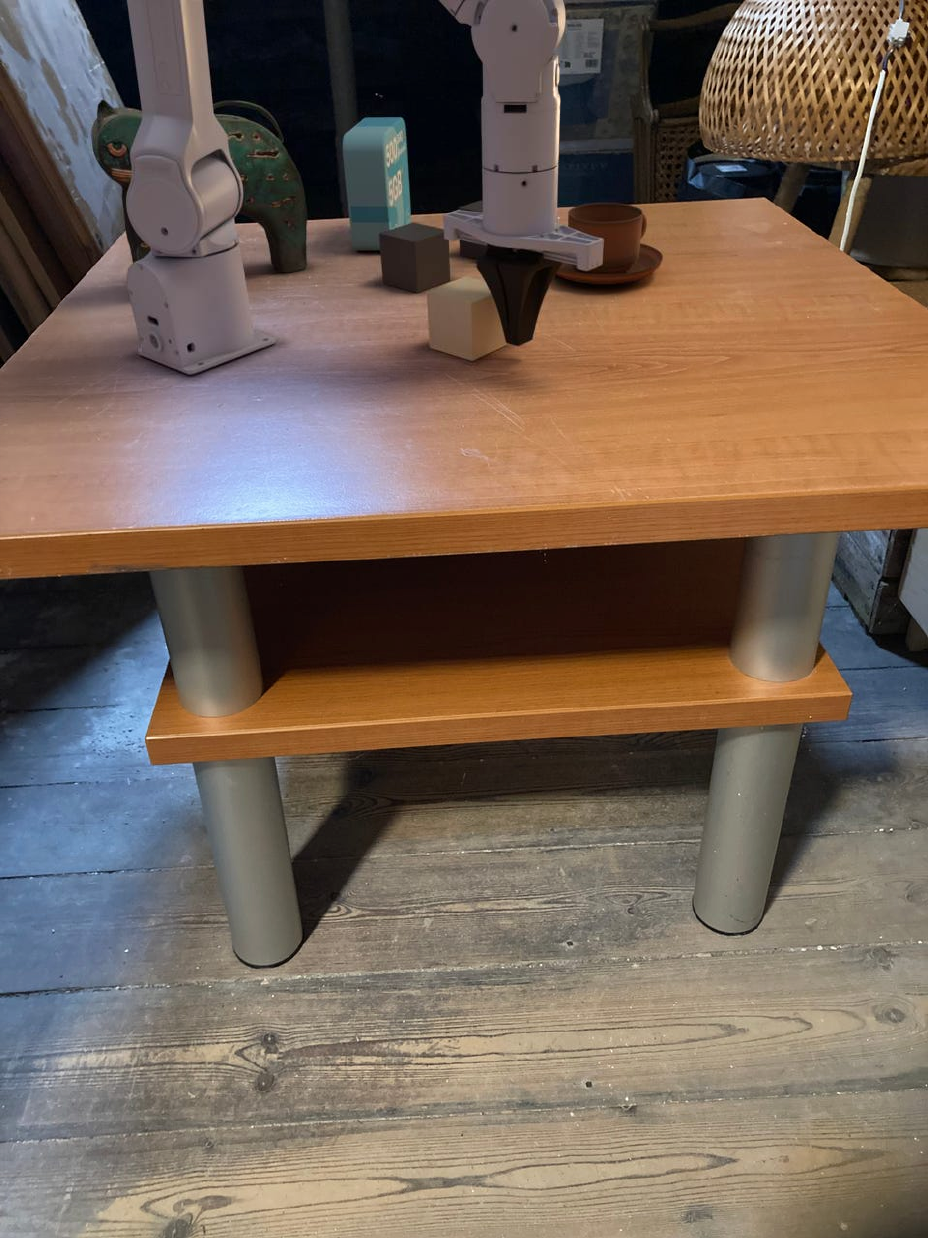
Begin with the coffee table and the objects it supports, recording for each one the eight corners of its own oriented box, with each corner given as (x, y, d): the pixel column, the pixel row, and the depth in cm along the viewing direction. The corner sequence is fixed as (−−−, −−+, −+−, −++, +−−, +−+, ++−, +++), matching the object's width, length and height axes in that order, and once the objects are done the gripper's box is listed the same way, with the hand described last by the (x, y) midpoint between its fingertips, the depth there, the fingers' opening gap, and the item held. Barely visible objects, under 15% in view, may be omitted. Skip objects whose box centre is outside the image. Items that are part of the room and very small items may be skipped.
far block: (494, 263, 103) (494, 214, 100) (459, 255, 106) (458, 207, 103) (523, 252, 106) (524, 204, 103) (489, 244, 109) (488, 197, 106)
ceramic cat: (135, 308, 95) (81, 77, 83) (118, 290, 100) (65, 70, 88) (320, 271, 103) (295, 55, 91) (296, 256, 107) (269, 49, 95)
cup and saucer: (574, 251, 106) (576, 192, 102) (678, 266, 101) (684, 204, 97) (523, 283, 98) (523, 219, 94) (633, 301, 92) (638, 234, 89)
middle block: (417, 293, 96) (414, 241, 93) (382, 283, 99) (378, 233, 96) (450, 280, 99) (449, 229, 96) (415, 271, 102) (413, 221, 99)
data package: (391, 254, 107) (382, 135, 100) (352, 254, 107) (340, 135, 100) (411, 225, 116) (405, 114, 109) (375, 224, 117) (366, 114, 110)
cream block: (472, 361, 82) (470, 302, 79) (429, 348, 84) (426, 290, 81) (509, 343, 85) (509, 286, 82) (466, 331, 87) (465, 275, 84)
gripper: (631, 166, 71) (618, 346, 79) (481, 144, 79) (484, 309, 87) (574, 186, 66) (567, 373, 75) (422, 160, 74) (431, 332, 83)
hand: (519, 341), depth 80 cm, fingers closed
